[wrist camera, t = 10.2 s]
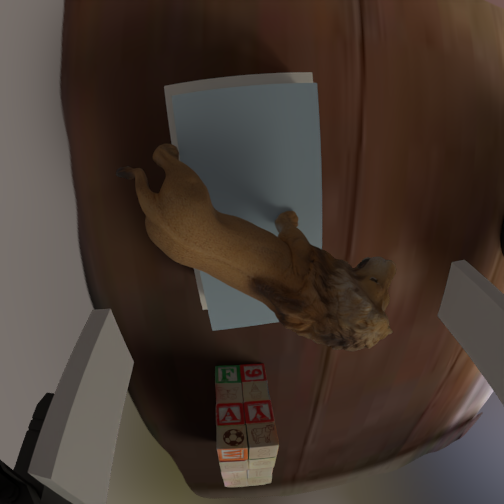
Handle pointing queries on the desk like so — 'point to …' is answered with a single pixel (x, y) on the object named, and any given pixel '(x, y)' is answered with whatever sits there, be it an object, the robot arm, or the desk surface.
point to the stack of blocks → (244, 425)
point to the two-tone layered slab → (250, 164)
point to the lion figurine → (266, 260)
